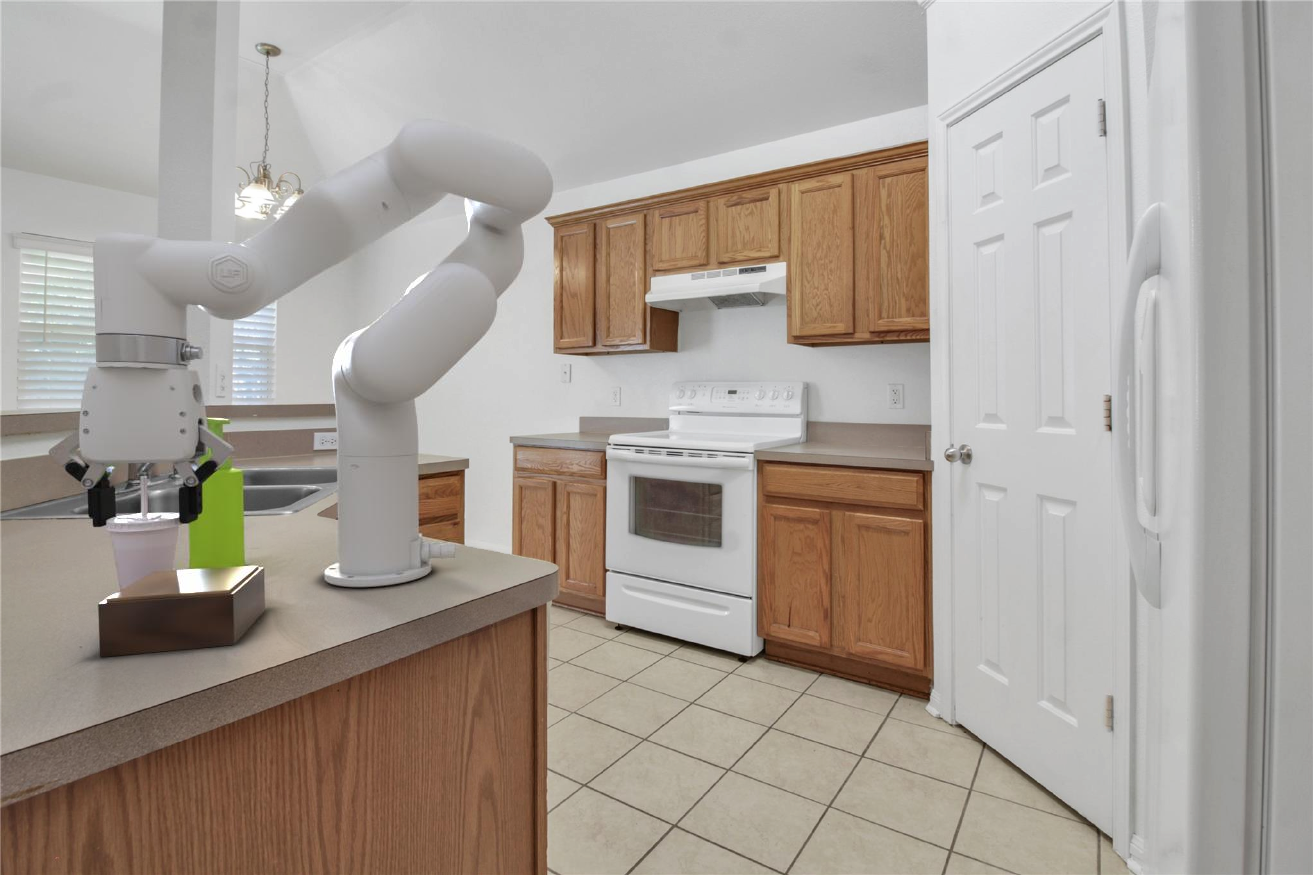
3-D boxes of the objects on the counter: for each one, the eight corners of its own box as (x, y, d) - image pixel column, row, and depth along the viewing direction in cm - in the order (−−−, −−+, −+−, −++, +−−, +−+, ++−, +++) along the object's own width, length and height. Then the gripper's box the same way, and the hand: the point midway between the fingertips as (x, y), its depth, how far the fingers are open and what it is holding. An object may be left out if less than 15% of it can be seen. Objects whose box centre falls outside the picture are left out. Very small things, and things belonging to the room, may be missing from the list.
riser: (265, 610, 67) (264, 564, 66) (234, 644, 57) (233, 590, 57) (152, 619, 64) (150, 570, 63) (99, 657, 54) (97, 600, 54)
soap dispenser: (209, 564, 86) (206, 417, 85) (255, 566, 85) (252, 418, 84) (170, 575, 80) (166, 418, 79) (219, 577, 79) (215, 418, 78)
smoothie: (178, 594, 72) (177, 472, 71) (188, 607, 67) (186, 477, 67) (104, 605, 67) (102, 475, 67) (109, 620, 63) (106, 481, 62)
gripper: (248, 361, 73) (251, 514, 73) (61, 355, 67) (67, 520, 68) (226, 356, 65) (230, 525, 66) (15, 349, 60) (22, 534, 61)
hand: (147, 521), depth 67 cm, fingers open, 6 cm apart
